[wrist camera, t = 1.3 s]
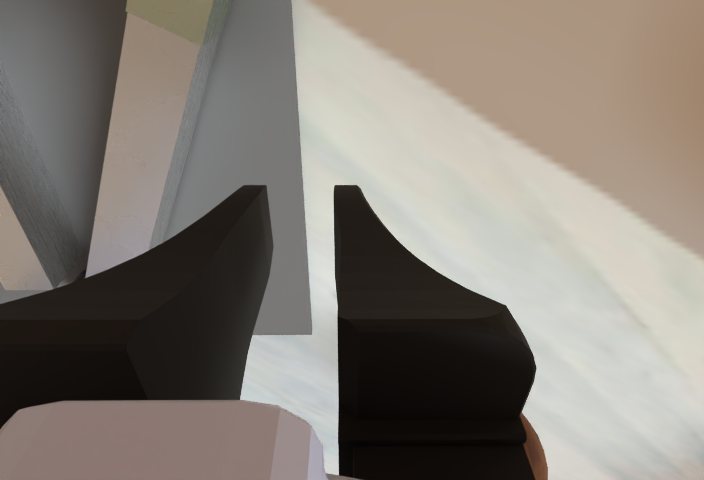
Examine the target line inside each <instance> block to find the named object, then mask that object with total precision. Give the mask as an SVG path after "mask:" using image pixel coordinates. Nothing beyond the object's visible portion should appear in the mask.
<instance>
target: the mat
mask: <svg viewBox="0 0 704 480" xmlns="http://www.w3.org/2000/svg"><path fill="white" fill-rule="evenodd" d="M126 5H127V0H0V61H1V63H2V66H3V68H4V70H5V73H6V75H7V77H8V79H9V82H10V84H11V86H12V89H13V91H14V93H15V96H16V98H17V100H18V102H19V105H20V107H21V109H22V112H23V114H24V116H25V119H26V121H27V123H28V125H29V128H30V130H31V132H32V135H33V137H34V139H35V142H36V144H37V146H38V148H39V151H40V153H41V155H42V158H43V160H44V162H45V165H46V167H47V169H48V171H49V174H50V176H51V178H52V181H53V183H54V185H55V187H56V190H57V192H58V194H59V197H60V199H61V201H62V204H63V206H64V208H65V210H66V213H67V215H68V217H69V220H70V222H71V224H72V227H73V229H74V231H75V233H76V236H77V238H78V240H79V243H80V245H81V247H82V250H83V252H84V255H83V256H82V257H81V259H80V260H79V261H78V262H77V263H76V265H75V266H74V267H73V268H72V269H71V271H70V272H69V273H68V274H67V275H66V277H65V278H64V279H63V280H62V281H61V282H60V284H59V285H58V286H57V287H56V288H58V287H61V286H64V285H67V284H70V283H72V282H73V280H74V279H75V278H76V277H77V276H78V274H79V273H80V272H81V271H83V270H86V269H87V264H88V258H89V252H90V246H91V239H92V233H93V227H94V221H95V214H96V208H97V202H98V195H99V189H100V183H101V177H102V170H103V164H104V158H105V151H106V145H107V139H108V133H109V126H110V120H111V114H112V108H113V101H114V95H115V89H116V82H117V76H118V70H119V64H120V57H121V51H122V45H123V38H124V32H125V26H126V20H127V13H128V12H126ZM243 185H267V194H268V202H269V211H270V219H271V228H272V236H273V245H274V248H273V255H272V263H271V270H270V276H269V279H268V283H267V287H266V290H265V294H264V297H263V300H262V304H261V307H260V311H259V314H258V317H257V321H256V324H255V328H254V331H253V334H252V335H312V320H311V304H310V289H309V273H308V257H307V241H306V226H305V210H304V194H303V178H302V163H301V147H300V131H299V115H298V100H297V84H296V68H295V53H294V37H293V21H292V5H291V0H231V4H230V7H229V11H228V14H227V18H226V22H225V25H224V29H223V31H222V32H221V34H220V37H219V41H218V45H217V48H216V52H215V56H214V59H213V63H212V66H211V70H210V74H209V77H208V81H207V85H206V88H205V92H204V96H203V99H202V103H201V106H200V110H199V114H198V117H197V121H196V125H195V128H194V132H193V135H192V139H191V143H190V146H189V150H188V154H187V157H186V161H185V164H184V168H183V172H182V175H181V179H180V183H179V186H178V190H177V193H176V197H175V201H174V204H173V208H172V212H171V215H170V219H169V222H168V226H167V230H166V233H165V237H164V241H163V242H165V241H167V240H168V239H170V238H172V237H173V236H175V235H176V234H178V233H180V232H181V231H182V230H184V229H185V228H187V227H188V226H190V225H191V224H193V223H194V222H196V221H197V220H198V219H200V218H201V217H203V216H204V215H205V214H207V213H208V212H209V211H211V210H212V209H213V208H215V207H216V206H217V205H218V204H220V203H221V202H222V201H224V200H225V199H226V198H227V197H229V196H230V195H231V194H232V193H234V192H235V191H236V190H238V189H239V188H240V187H242V186H243ZM45 291H49V290H5V289H4V287H3V286H2V284H1V282H0V304H2V303H6V302H9V301H13V300H17V299H20V298H24V297H27V296H31V295H35V294H38V293H42V292H45Z"/></svg>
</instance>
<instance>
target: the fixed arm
mask: <svg viewBox="0 0 704 480" xmlns="http://www.w3.org/2000/svg"><path fill="white" fill-rule="evenodd" d="M83 255H84V252H83V250H82V247H81V245H80V243H79V240H78V238H77V236H76V233H75V231H74V229H73V227H72V224H71V222H70V220H69V217H68V215H67V213H66V210H65V208H64V206H63V204H62V201H61V199H60V197H59V194H58V192H57V190H56V187H55V185H54V183H53V181H52V178H51V176H50V174H49V171H48V169H47V167H46V165H45V162H44V160H43V158H42V155H41V153H40V151H39V148H38V146H37V144H36V142H35V139H34V137H33V135H32V132H31V130H30V128H29V125H28V123H27V121H26V119H25V116H24V114H23V112H22V109H21V107H20V105H19V102H18V100H17V98H16V96H15V93H14V91H13V89H12V86H11V84H10V82H9V79H8V77H7V75H6V73H5V70H4V68H3V66H2V63H1V61H0V282H1V284H2V286H3V287H4V289H5V290H52V289H55V288H56V287H57V286H58V285H59V284H60V282H61V281H62V280H63V279H64V278H65V277H66V275H67V274H68V273H69V272H70V271H71V269H72V268H73V267H74V266H75V265H76V263H77V262H78V261H79V260H80V259H81V257H82V256H83Z"/></svg>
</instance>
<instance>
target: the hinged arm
mask: <svg viewBox="0 0 704 480" xmlns="http://www.w3.org/2000/svg"><path fill="white" fill-rule="evenodd" d="M230 4H231V0H127V5H126V12H128V13H127V20H126V26H125V32H124V38H123V45H122V51H121V57H120V64H119V70H118V76H117V82H116V89H115V95H114V101H113V108H112V114H111V120H110V126H109V133H108V139H107V145H106V151H105V158H104V164H103V170H102V177H101V183H100V189H99V195H98V202H97V208H96V214H95V221H94V227H93V233H92V239H91V246H90V252H89V258H88V264H87V269H86V270H83V271H81V272H80V273H79V274H78V276H77V277H76V278H75V279H74V280H73V282H76V281H79V280H82V279H84V278H87V277H90V276H92V275H95V274H98V273H100V272H103V271H105V270H107V269H110V268H112V267H114V266H116V265H119V264H121V263H123V262H125V261H128V260H130V259H132V258H134V257H136V256H139V255H141V254H143V253H145V252H147V251H148V250H150V249H152V248H154V247H156V246H158V245H160V244H161V243H163V241H164V237H165V233H166V230H167V226H168V222H169V219H170V215H171V212H172V208H173V204H174V201H175V197H176V193H177V190H178V186H179V183H180V179H181V175H182V172H183V168H184V164H185V161H186V157H187V154H188V150H189V146H190V143H191V139H192V135H193V132H194V128H195V125H196V121H197V117H198V114H199V110H200V106H201V103H202V99H203V96H204V92H205V88H206V85H207V81H208V77H209V74H210V70H211V66H212V63H213V59H214V56H215V52H216V48H217V45H218V41H219V37H220V34H221V32H222V31H223V29H224V25H225V22H226V18H227V14H228V11H229V7H230ZM73 282H72V283H73Z"/></svg>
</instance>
